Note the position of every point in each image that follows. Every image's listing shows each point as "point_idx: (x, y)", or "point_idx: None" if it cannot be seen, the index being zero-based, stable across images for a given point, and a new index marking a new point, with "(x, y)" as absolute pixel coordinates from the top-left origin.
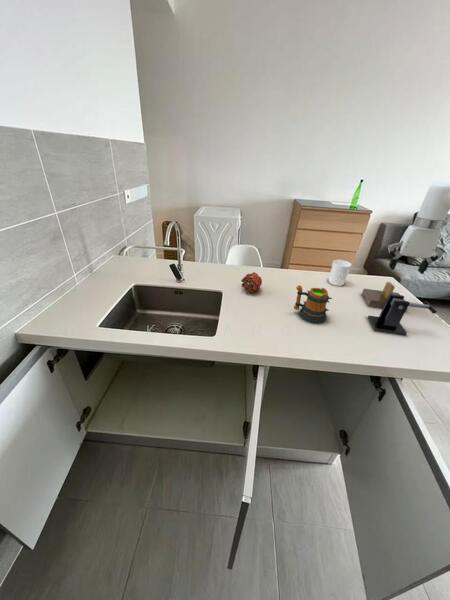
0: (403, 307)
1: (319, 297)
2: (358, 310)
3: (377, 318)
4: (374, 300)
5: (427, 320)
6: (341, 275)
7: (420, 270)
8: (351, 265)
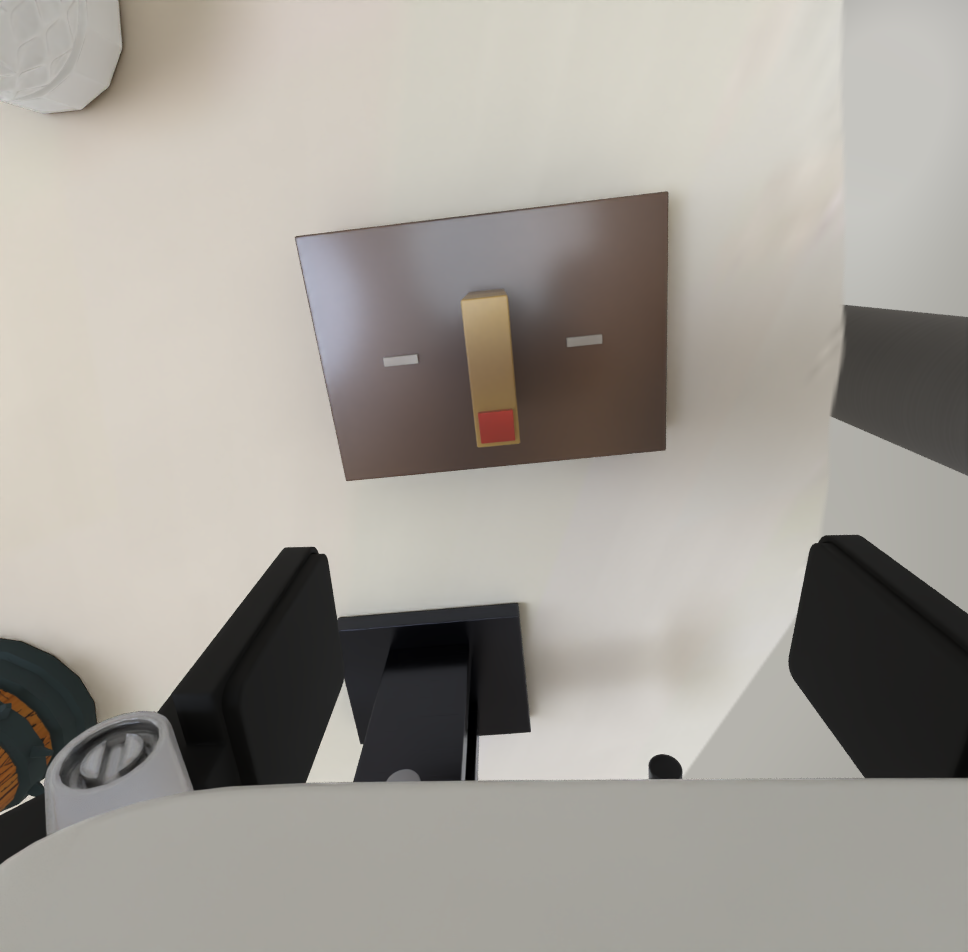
0: None
1: None
2: (285, 544)
3: (386, 648)
4: (374, 477)
5: (762, 507)
6: None
7: (815, 642)
8: None
